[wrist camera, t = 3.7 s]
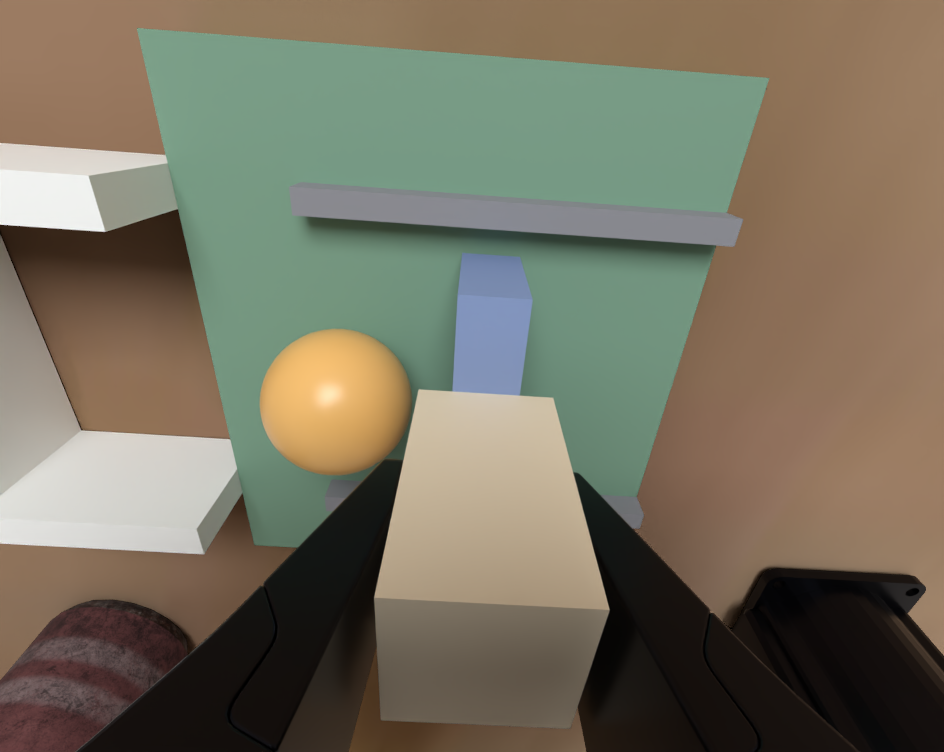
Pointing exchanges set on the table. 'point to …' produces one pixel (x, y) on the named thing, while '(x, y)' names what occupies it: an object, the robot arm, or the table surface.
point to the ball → (335, 402)
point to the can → (84, 674)
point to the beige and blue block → (487, 537)
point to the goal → (47, 406)
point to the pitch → (445, 227)
